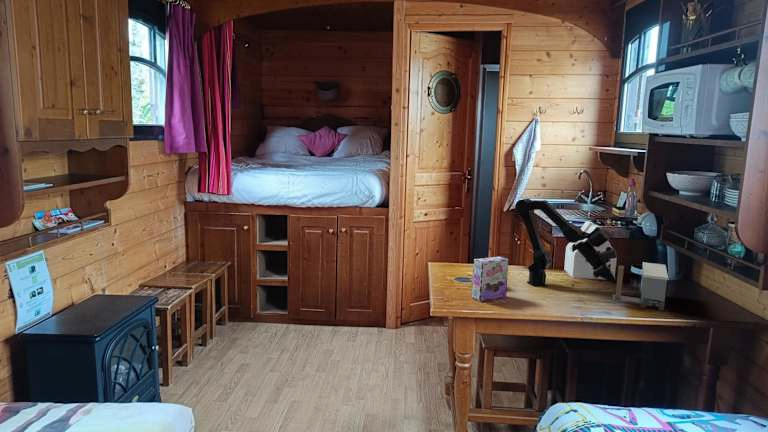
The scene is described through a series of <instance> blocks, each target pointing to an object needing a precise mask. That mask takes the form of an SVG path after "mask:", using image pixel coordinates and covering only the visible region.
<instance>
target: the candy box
mask: <svg viewBox="0 0 768 432" xmlns="http://www.w3.org/2000/svg"><path fill="white" fill-rule="evenodd" d="M509 263H510V262H509V259H508V258H506V257H503V256H494V257H487V258H486V257H484V258H474V259H473V266H472V268H473V269H472V281H471V294H470V295H471V296H470V298H471V299H473V300H475V301H478V302H486V301H494V300H500V299H505V298H506V299H507V289H508V276H509V275H508V273H509Z"/></svg>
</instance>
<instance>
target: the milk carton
mask: <svg viewBox="0 0 768 432" xmlns="http://www.w3.org/2000/svg"><path fill="white" fill-rule="evenodd" d="M597 227H600V229H602V227H601V226H600V225H598V224H595V222H593V221H591V220H590V221H589V220H586V221H585V222H584V224H583V225H582V226H581V228H580V229H581V230H582V231H583V232H587V233H591V232H592V231H593V230H594V229H595V228H597ZM586 240H587V238H586V239H584V240H580V241H583V242H584V241H586ZM580 241H578V242H575V243H570V242H568V243H567V245H566V246H565V255H564V256H565V257H564V269H563V270H564V271H565V272H566V273H567V274H568V275H569V276H570V277H571V278H573V279H588V280H590V279H591V280H605V279H604V278H602V277H600V276H599V277H598V278H595V277H594V275H593V271H594V270H593V267H592V266H591V265H590V264H589V262H586V259H585V258H584V257H583V256H582V255H581V253H580V252H579V251H578V250H575V251H574V252H572V245H573V244H575V245H576V244H578V243H579V242H580ZM607 247H611V248H612V249H613V246H612V244H611V243H610V240H608V241H607V242H605V243H604V244H602V245H601V246H600V247H596V246H595V247H594V248H595V249H596V250H599V251H600V252H604V251H606V248H607ZM617 258H618V256H617V257H616V258H614V259H613V258H612V259H610V260H611V261H610V262H607V263H606V264H607V265H609V264H611V268H610V269H611V272H612V273H613V275H614V277H615V278H616V267H617Z"/></svg>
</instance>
